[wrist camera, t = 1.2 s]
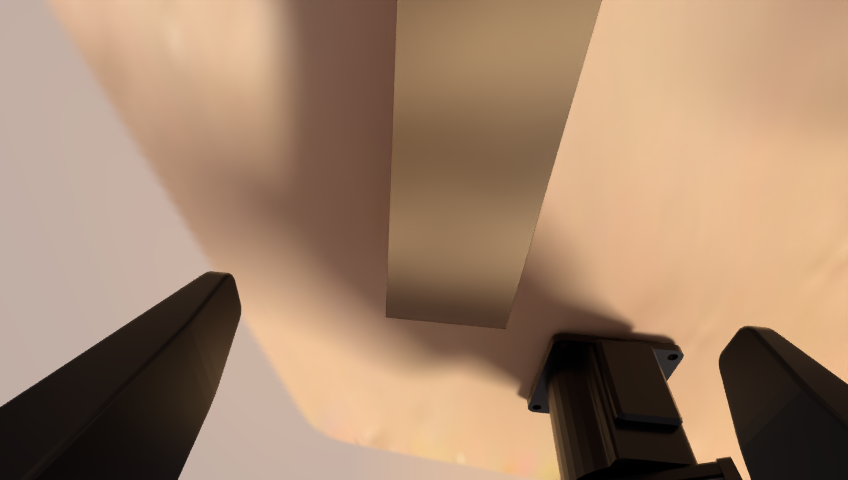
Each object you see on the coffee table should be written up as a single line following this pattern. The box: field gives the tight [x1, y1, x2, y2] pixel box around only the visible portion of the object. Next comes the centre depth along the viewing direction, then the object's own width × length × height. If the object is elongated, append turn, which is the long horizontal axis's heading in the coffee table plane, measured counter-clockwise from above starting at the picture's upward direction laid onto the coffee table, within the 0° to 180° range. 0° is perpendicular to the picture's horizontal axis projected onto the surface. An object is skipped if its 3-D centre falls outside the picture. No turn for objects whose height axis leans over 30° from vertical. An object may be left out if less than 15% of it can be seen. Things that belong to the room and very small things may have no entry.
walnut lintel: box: [386, 0, 602, 329], centre depth 14 cm, size 14×4×4 cm, turn 176°
